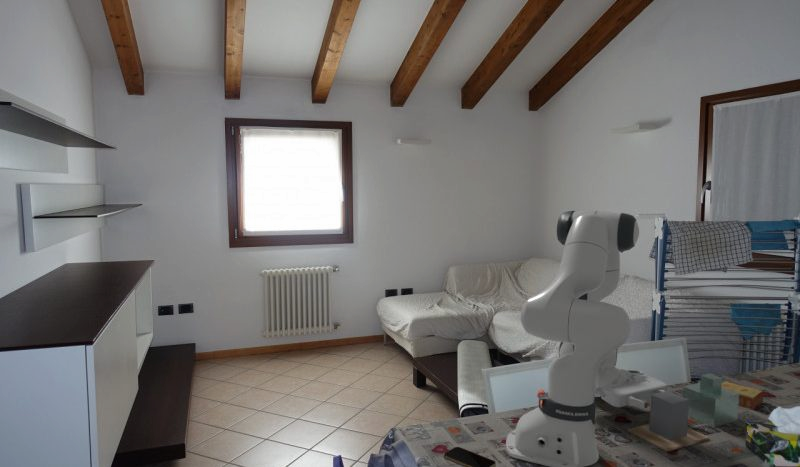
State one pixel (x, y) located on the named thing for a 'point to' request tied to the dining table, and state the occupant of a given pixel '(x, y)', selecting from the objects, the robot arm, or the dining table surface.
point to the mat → (664, 443)
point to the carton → (745, 394)
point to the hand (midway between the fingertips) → (658, 402)
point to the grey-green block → (711, 401)
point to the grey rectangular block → (669, 415)
